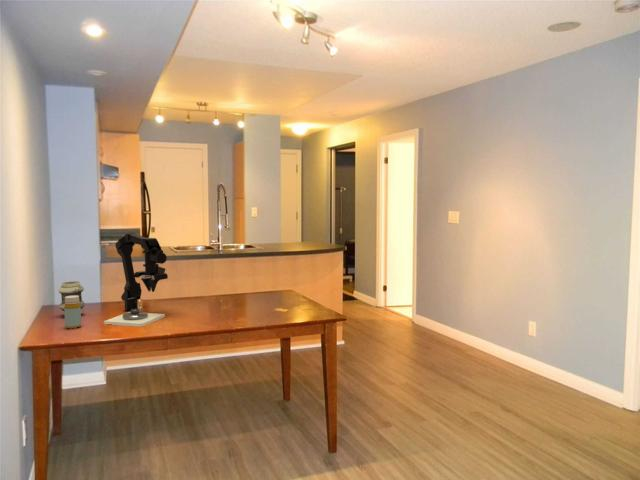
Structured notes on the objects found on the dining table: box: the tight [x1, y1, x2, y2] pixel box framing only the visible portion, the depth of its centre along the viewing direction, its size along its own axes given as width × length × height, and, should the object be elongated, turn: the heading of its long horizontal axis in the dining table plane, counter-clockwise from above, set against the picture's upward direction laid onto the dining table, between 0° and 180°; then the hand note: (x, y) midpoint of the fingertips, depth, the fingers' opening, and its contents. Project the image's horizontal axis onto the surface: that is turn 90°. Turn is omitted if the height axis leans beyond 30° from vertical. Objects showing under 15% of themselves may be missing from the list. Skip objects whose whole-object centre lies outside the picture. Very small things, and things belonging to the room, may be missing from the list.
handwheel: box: [122, 298, 149, 320], centre depth 255 cm, size 18×12×7 cm, turn 7°
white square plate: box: [103, 312, 166, 328], centre depth 253 cm, size 21×21×2 cm
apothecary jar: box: [58, 280, 86, 318], centre depth 262 cm, size 12×12×18 cm
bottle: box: [63, 295, 82, 329], centre depth 239 cm, size 7×7×15 cm
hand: (151, 291), depth 261 cm, fingers open, 2 cm apart
